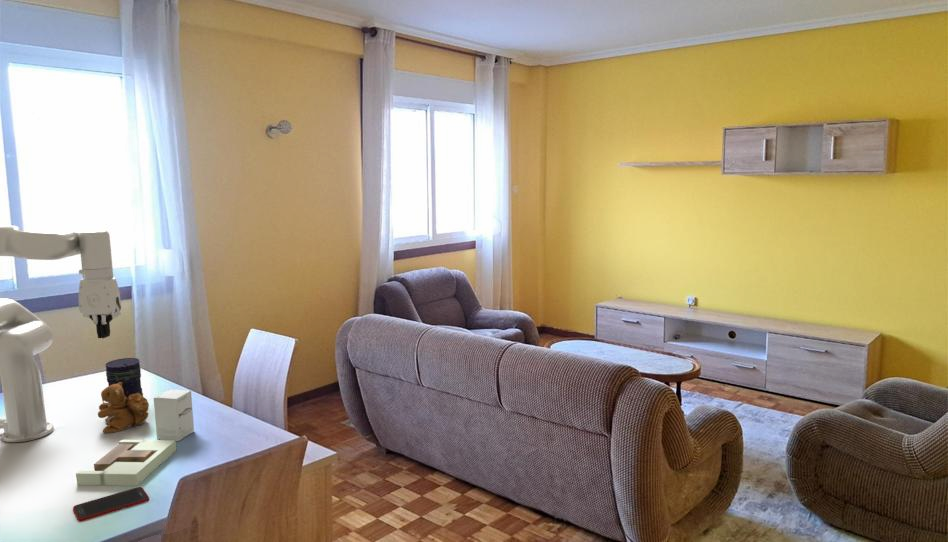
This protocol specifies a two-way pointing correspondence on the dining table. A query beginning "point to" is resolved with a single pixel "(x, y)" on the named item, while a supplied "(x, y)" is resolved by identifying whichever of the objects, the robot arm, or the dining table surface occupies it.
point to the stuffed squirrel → (122, 408)
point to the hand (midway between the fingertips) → (104, 336)
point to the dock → (130, 465)
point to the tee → (122, 456)
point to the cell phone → (110, 503)
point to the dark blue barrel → (125, 375)
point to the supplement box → (173, 415)
